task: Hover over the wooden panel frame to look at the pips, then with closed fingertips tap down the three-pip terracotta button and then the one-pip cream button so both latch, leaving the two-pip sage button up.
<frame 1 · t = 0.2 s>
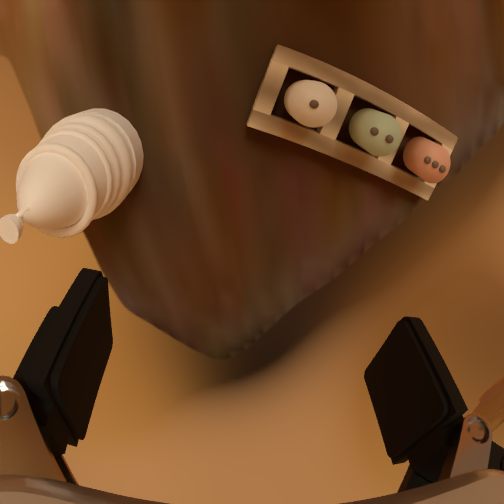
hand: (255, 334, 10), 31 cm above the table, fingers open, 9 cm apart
button three: (426, 159, 33), point 4 cm above the table, slide at 0.0 cm
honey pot: (97, 156, 36), on the table
wooden panel frame: (361, 124, 35), on the table
button one: (309, 102, 30), point 4 cm above the table, slide at 0.0 cm
button two: (374, 131, 32), point 4 cm above the table, slide at 0.0 cm
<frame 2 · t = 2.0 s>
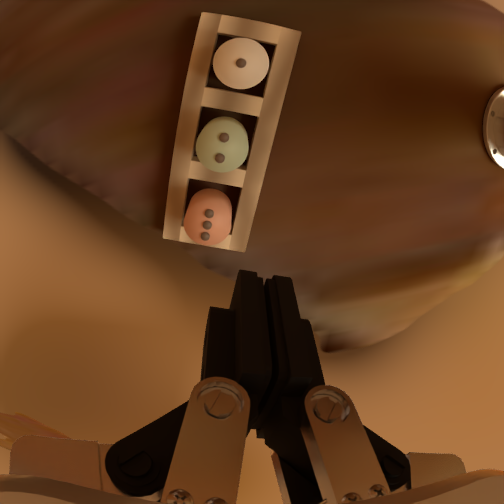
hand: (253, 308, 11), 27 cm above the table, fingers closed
button three: (208, 216, 34), point 4 cm above the table, slide at 0.0 cm
wooden panel frame: (224, 134, 33), on the table
button one: (240, 63, 26), point 4 cm above the table, slide at 0.0 cm
button two: (223, 143, 30), point 4 cm above the table, slide at 0.0 cm
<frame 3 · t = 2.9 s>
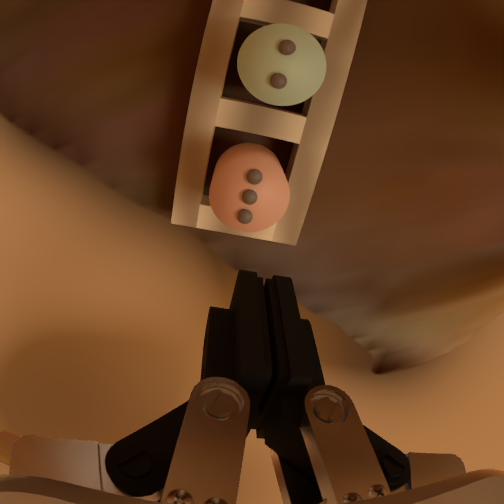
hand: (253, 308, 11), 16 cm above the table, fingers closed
button three: (248, 185, 21), point 4 cm above the table, slide at 0.0 cm
wooden panel frame: (271, 66, 20), on the table
button two: (278, 64, 16), point 4 cm above the table, slide at 0.0 cm
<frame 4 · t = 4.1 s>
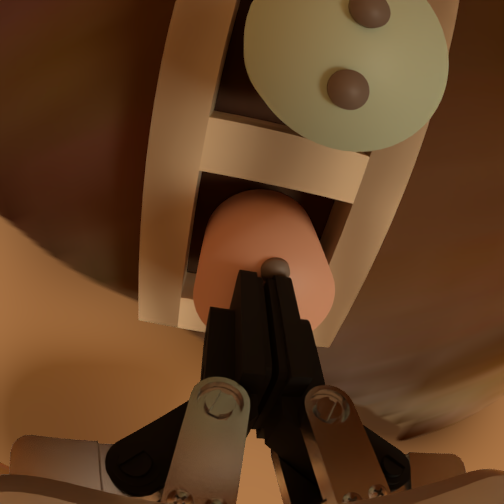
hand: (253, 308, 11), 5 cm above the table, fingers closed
button three: (262, 268, 12), point 3 cm above the table, slide at -1.4 cm, touching gripper
wooden panel frame: (304, 57, 11), on the table
button two: (334, 52, 7), point 4 cm above the table, slide at 0.0 cm
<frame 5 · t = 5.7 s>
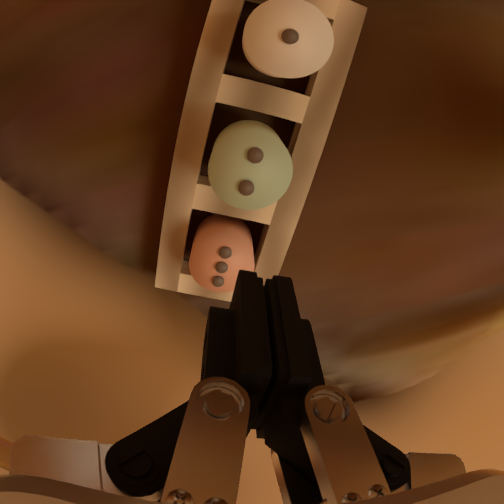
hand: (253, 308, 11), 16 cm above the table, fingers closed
button three: (222, 252, 25), point 2 cm above the table, slide at -2.0 cm
wooden panel frame: (247, 146, 23), on the table
button one: (284, 40, 15), point 4 cm above the table, slide at 0.0 cm
button two: (249, 162, 19), point 4 cm above the table, slide at 0.0 cm
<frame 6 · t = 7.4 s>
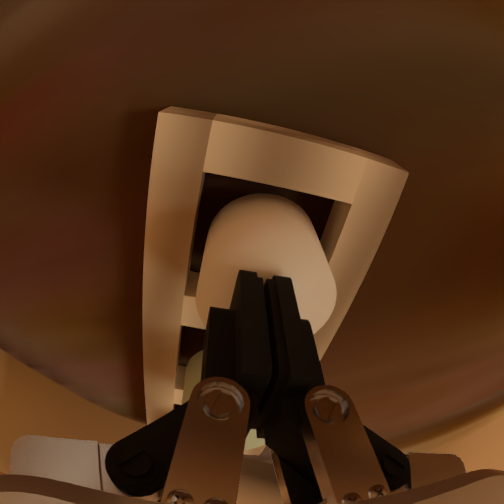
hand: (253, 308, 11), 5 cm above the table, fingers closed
wooden panel frame: (229, 343, 19), on the table
button one: (264, 271, 12), point 3 cm above the table, slide at -1.1 cm, touching gripper
button two: (227, 403, 16), point 4 cm above the table, slide at 0.0 cm
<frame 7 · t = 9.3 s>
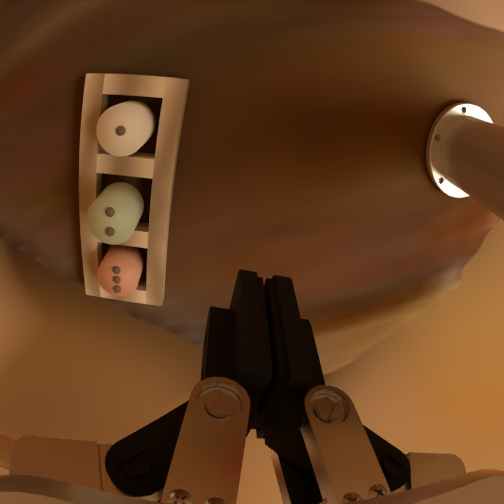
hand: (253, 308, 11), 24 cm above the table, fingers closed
button three: (121, 269, 34), point 2 cm above the table, slide at -2.0 cm
wooden panel frame: (127, 195, 32), on the table
button one: (126, 126, 26), point 2 cm above the table, slide at -2.0 cm
button two: (115, 212, 29), point 4 cm above the table, slide at 0.0 cm
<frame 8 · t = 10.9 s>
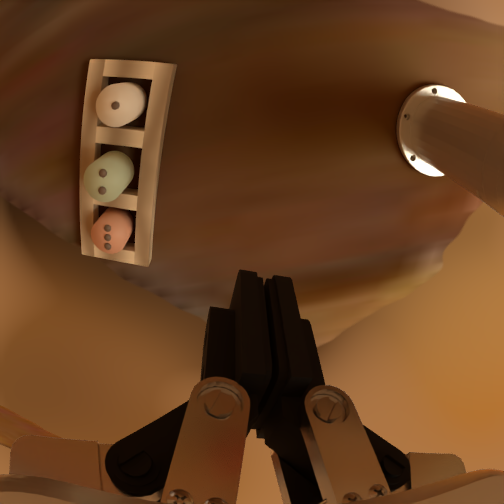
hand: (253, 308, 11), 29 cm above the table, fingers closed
button three: (112, 229, 38), point 2 cm above the table, slide at -2.0 cm
wooden panel frame: (121, 164, 36), on the table
button one: (121, 103, 30), point 2 cm above the table, slide at -2.0 cm
button two: (109, 175, 33), point 4 cm above the table, slide at 0.0 cm
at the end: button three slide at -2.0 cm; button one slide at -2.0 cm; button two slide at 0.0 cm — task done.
